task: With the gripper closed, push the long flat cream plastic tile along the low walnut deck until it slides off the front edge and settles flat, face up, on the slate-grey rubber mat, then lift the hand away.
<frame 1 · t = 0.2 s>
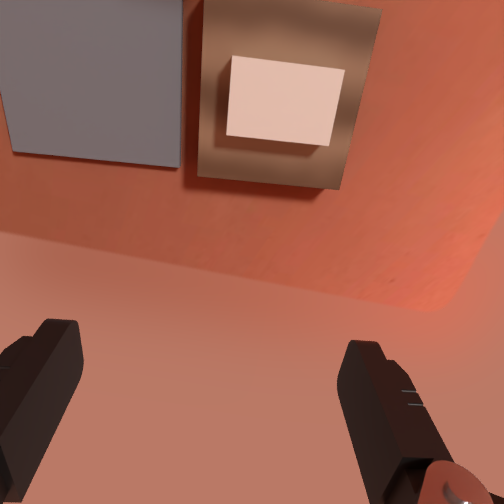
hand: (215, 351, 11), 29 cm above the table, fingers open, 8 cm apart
cream tile: (280, 100, 31), point 3 cm above the table, touching walnut deck
slate mat: (92, 75, 32), on the table
walnut deck: (277, 97, 34), on the table
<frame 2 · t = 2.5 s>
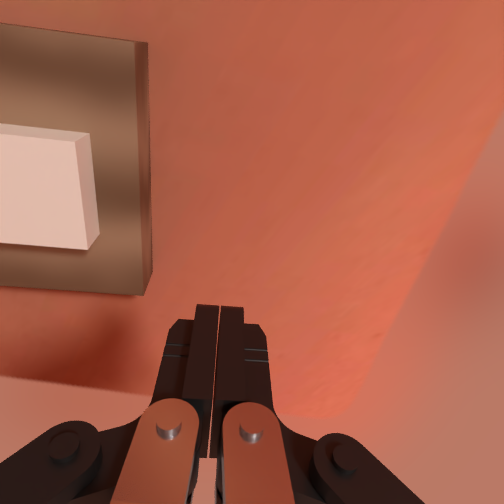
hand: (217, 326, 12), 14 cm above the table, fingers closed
cream tile: (12, 179, 20), point 3 cm above the table, touching walnut deck
walnut deck: (37, 163, 23), on the table
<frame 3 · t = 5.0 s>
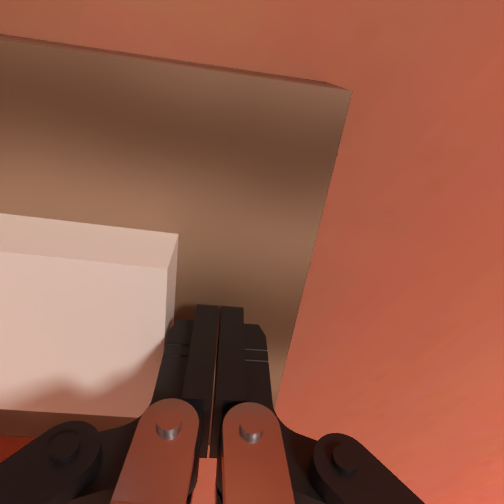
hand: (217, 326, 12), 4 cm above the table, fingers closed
cream tile: (36, 298, 12), point 3 cm above the table, touching walnut deck
walnut deck: (118, 258, 15), on the table
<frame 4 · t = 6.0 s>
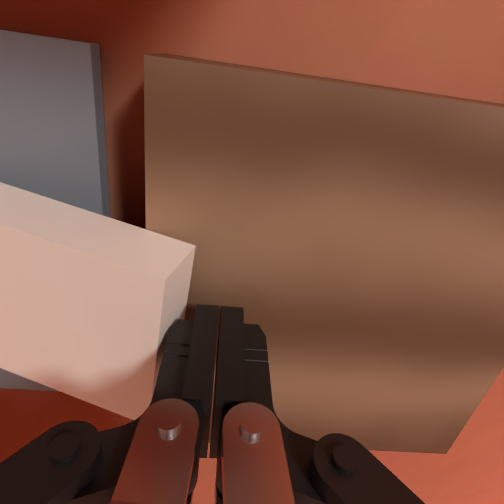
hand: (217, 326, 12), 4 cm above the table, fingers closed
cream tile: (65, 279, 13), point 2 cm above the table, tilted 16°, touching slate mat, walnut deck
walnut deck: (327, 275, 15), on the table
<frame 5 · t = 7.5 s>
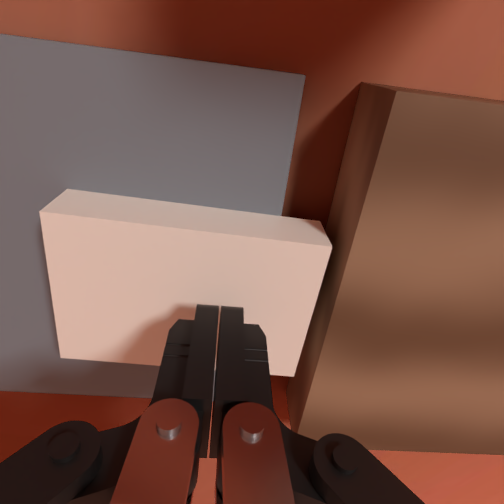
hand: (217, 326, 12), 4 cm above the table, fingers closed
cream tile: (192, 275, 14), point 1 cm above the table, touching slate mat
slate mat: (73, 253, 14), on the table
walnut deck: (467, 286, 16), on the table
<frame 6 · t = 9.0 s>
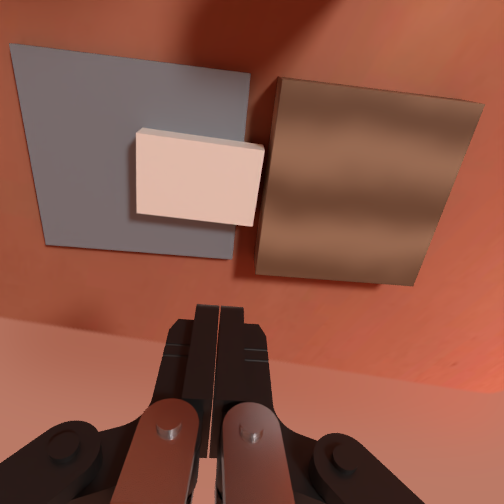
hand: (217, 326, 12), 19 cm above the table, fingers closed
cream tile: (200, 175, 28), point 1 cm above the table, touching slate mat
slate mat: (140, 165, 28), on the table
walnut deck: (347, 185, 30), on the table
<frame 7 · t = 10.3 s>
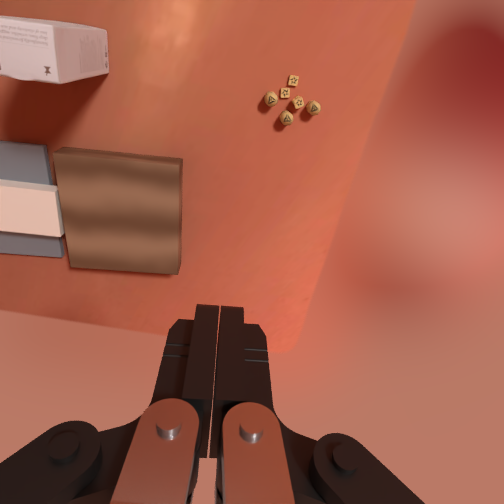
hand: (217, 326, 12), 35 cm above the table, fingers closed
cream tile: (27, 204, 45), point 1 cm above the table, touching slate mat
skincare box: (79, 49, 38), on the table
dice set: (288, 102, 42), on the table
walnut deck: (127, 210, 47), on the table
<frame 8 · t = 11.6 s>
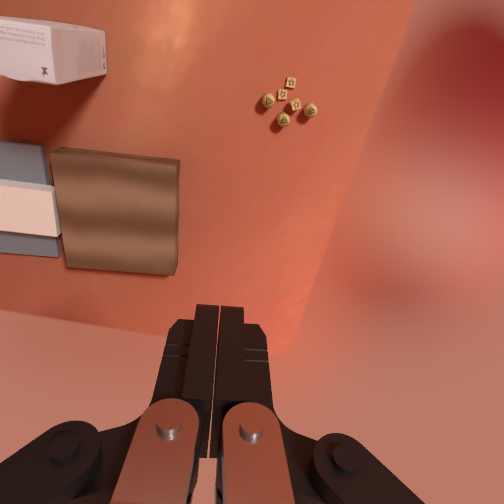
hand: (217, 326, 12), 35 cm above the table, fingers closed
cream tile: (24, 204, 45), point 1 cm above the table, touching slate mat
skincare box: (77, 49, 38), on the table
dice set: (285, 104, 42), on the table
walnut deck: (124, 210, 47), on the table
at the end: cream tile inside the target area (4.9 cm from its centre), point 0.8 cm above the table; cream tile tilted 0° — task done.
